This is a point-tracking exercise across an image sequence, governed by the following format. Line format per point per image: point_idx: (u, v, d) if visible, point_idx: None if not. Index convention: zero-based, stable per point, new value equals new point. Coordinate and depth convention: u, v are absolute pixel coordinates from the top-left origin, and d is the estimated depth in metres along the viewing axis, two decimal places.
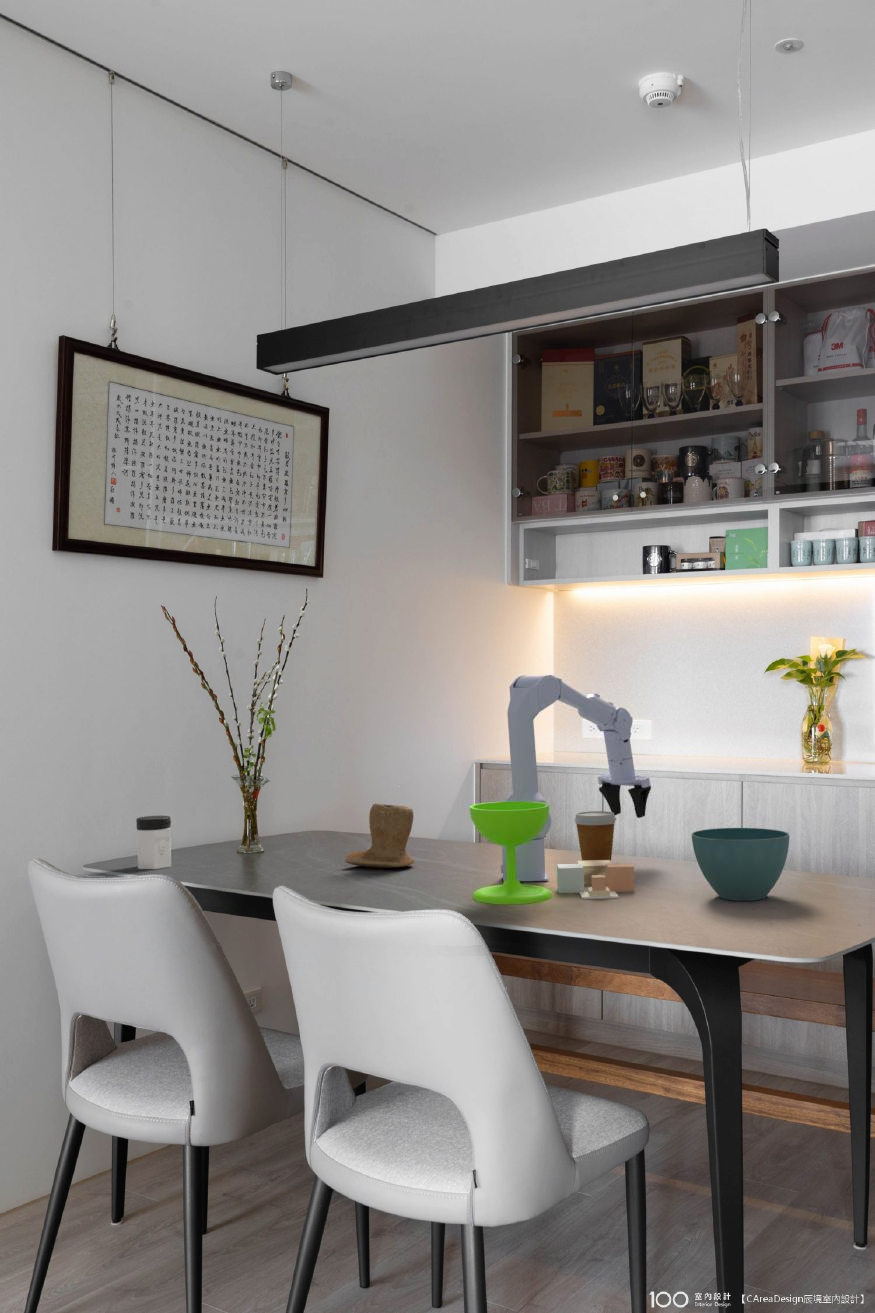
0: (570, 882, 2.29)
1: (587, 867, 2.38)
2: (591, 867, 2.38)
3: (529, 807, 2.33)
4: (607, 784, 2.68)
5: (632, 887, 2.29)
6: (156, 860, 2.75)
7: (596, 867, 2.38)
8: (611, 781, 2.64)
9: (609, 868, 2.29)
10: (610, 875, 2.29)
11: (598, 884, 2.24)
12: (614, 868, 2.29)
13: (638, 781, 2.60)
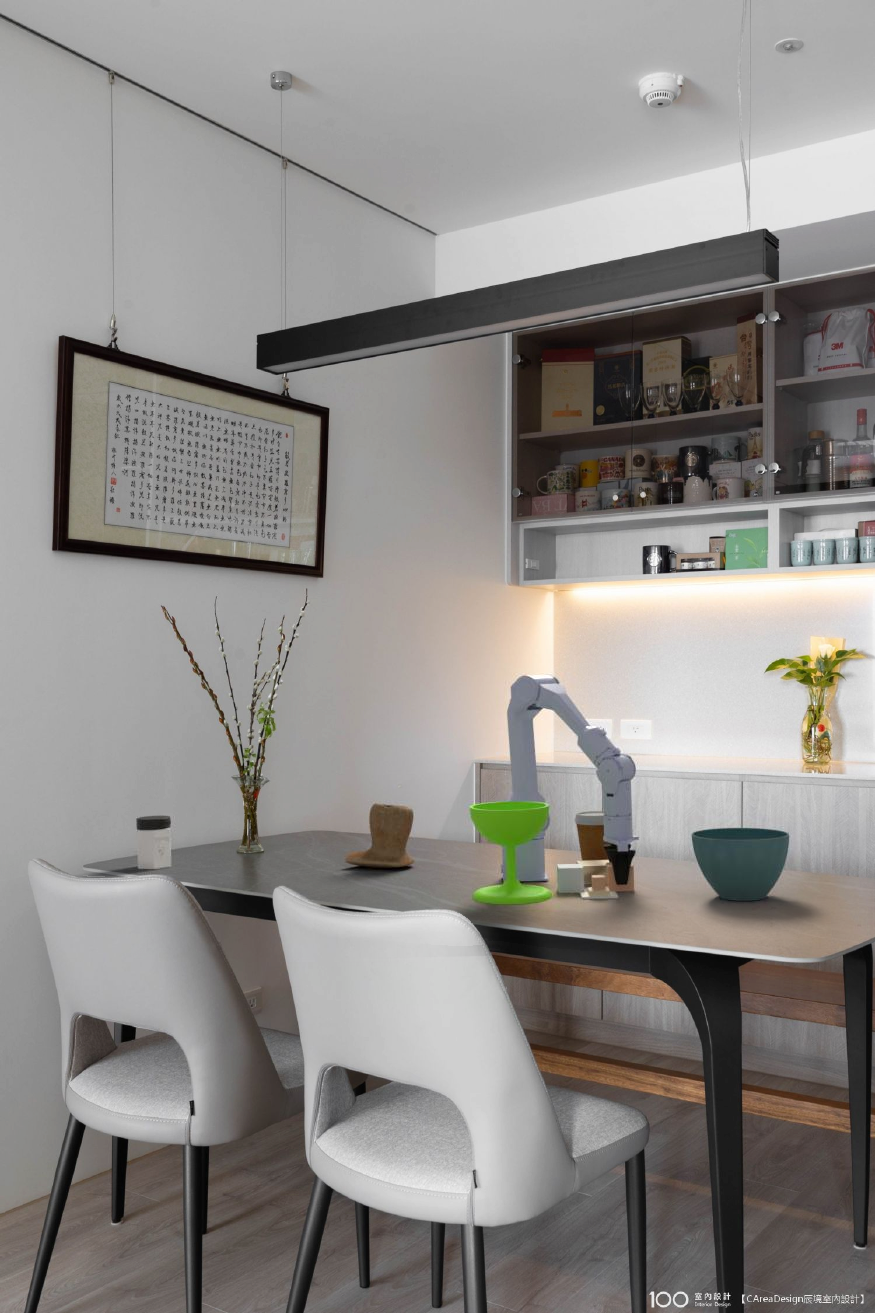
0: (570, 882, 2.29)
1: (588, 867, 2.38)
2: (592, 867, 2.38)
3: (529, 807, 2.33)
4: None
5: (632, 886, 2.29)
6: (156, 860, 2.75)
7: (597, 867, 2.38)
8: None
9: (609, 867, 2.29)
10: (610, 874, 2.29)
11: (598, 884, 2.24)
12: None
13: (616, 843, 2.26)
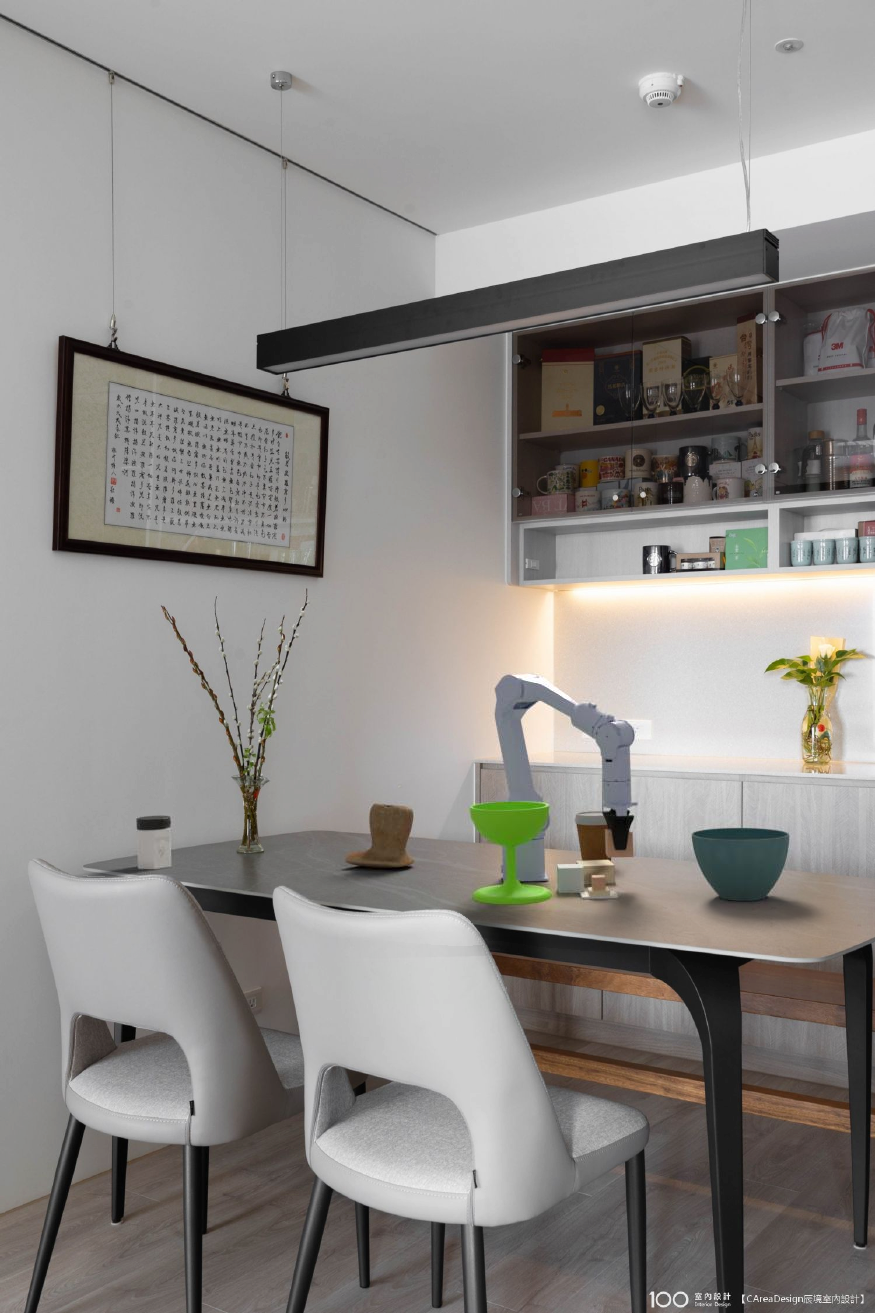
0: (570, 882, 2.29)
1: (588, 867, 2.38)
2: (592, 867, 2.38)
3: (529, 807, 2.33)
4: None
5: (631, 852, 2.29)
6: (156, 860, 2.75)
7: (597, 867, 2.38)
8: None
9: (608, 833, 2.29)
10: (609, 840, 2.29)
11: (598, 884, 2.24)
12: None
13: (614, 807, 2.26)
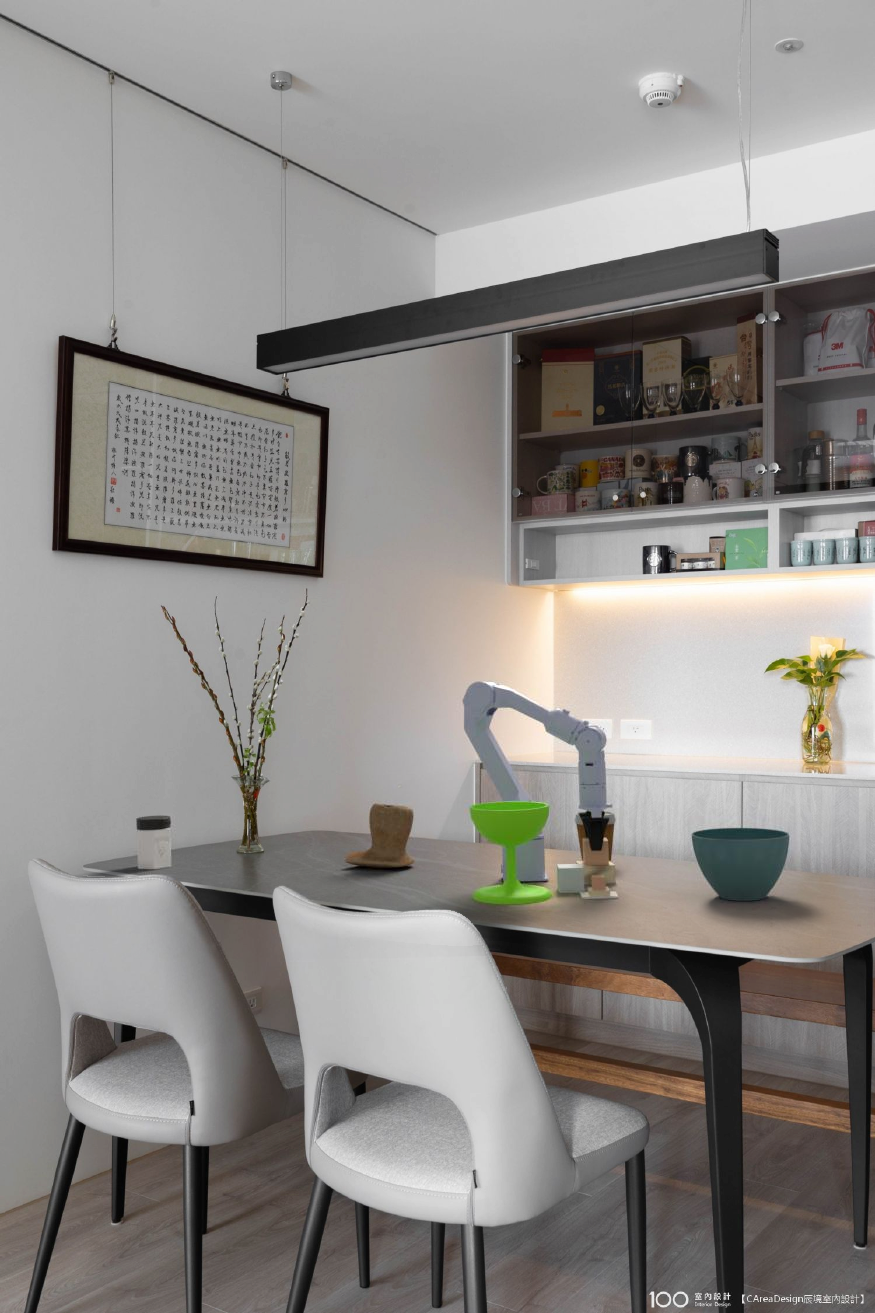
0: (570, 882, 2.29)
1: (589, 867, 2.38)
2: (593, 867, 2.38)
3: (529, 807, 2.33)
4: (587, 810, 2.46)
5: (607, 860, 2.39)
6: (156, 860, 2.75)
7: (598, 867, 2.38)
8: None
9: (585, 842, 2.39)
10: (586, 849, 2.39)
11: (598, 884, 2.24)
12: None
13: (590, 809, 2.36)
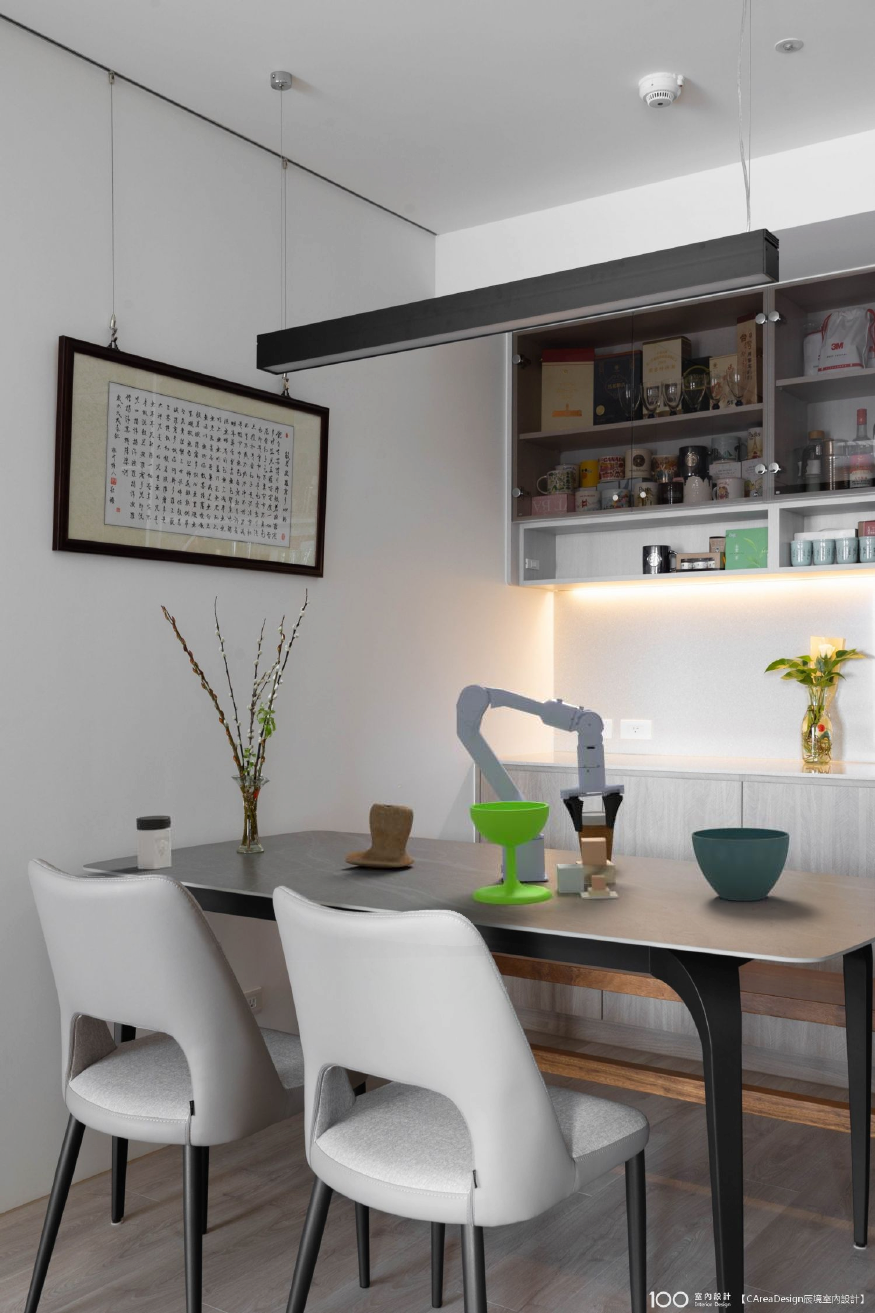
0: (570, 882, 2.29)
1: (589, 867, 2.38)
2: (593, 867, 2.38)
3: (529, 807, 2.33)
4: None
5: (604, 861, 2.39)
6: (156, 860, 2.75)
7: (598, 867, 2.38)
8: None
9: (582, 842, 2.40)
10: (583, 849, 2.40)
11: (598, 884, 2.24)
12: (587, 842, 2.40)
13: None
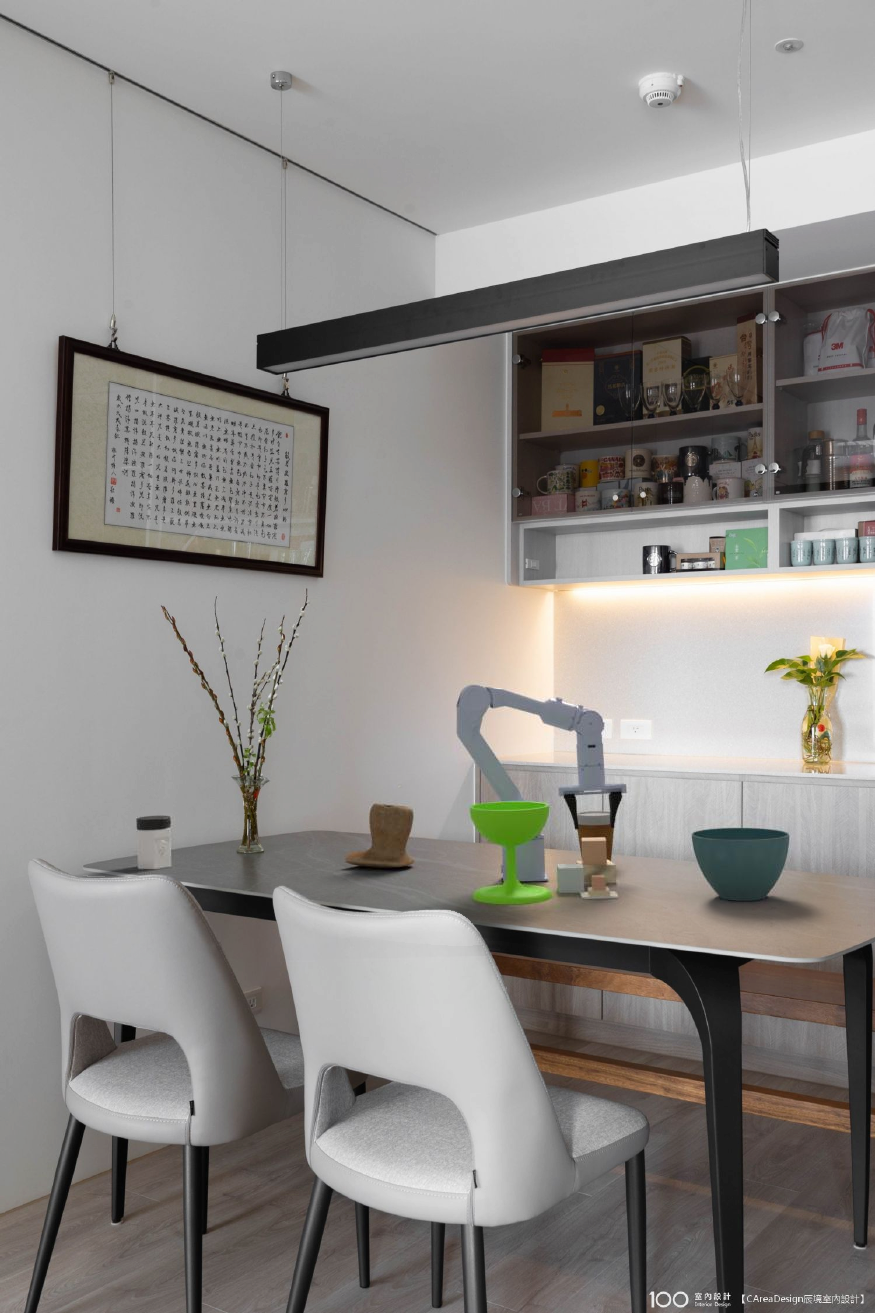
0: (570, 882, 2.29)
1: (589, 867, 2.38)
2: (593, 867, 2.38)
3: (529, 807, 2.33)
4: None
5: (605, 860, 2.39)
6: (156, 860, 2.75)
7: (598, 867, 2.38)
8: None
9: (583, 842, 2.40)
10: (584, 849, 2.40)
11: (598, 884, 2.24)
12: (587, 842, 2.40)
13: None
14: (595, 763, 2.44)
